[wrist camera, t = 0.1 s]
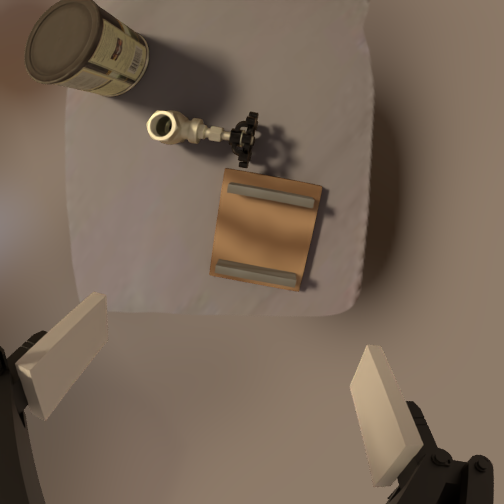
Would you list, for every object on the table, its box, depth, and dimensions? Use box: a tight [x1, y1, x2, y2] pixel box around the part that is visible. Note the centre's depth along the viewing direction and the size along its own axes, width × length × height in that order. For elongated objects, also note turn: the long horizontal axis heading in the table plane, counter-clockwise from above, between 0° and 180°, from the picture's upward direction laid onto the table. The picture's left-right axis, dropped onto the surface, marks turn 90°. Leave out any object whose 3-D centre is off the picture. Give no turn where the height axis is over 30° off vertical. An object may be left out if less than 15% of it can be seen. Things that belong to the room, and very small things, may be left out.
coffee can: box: [24, 0, 149, 97], centre depth 29 cm, size 10×10×14 cm
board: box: [209, 168, 322, 292], centre depth 40 cm, size 14×12×4 cm
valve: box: [146, 110, 259, 168], centre depth 36 cm, size 7×7×12 cm
